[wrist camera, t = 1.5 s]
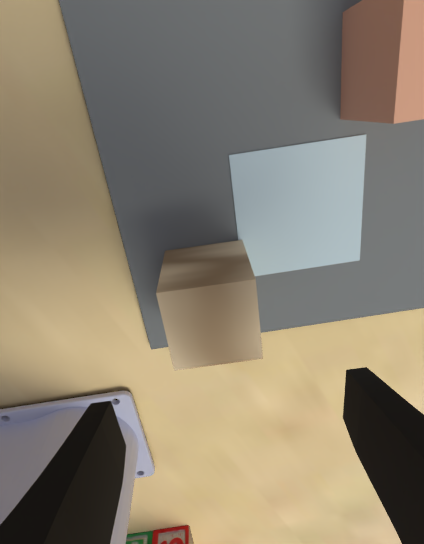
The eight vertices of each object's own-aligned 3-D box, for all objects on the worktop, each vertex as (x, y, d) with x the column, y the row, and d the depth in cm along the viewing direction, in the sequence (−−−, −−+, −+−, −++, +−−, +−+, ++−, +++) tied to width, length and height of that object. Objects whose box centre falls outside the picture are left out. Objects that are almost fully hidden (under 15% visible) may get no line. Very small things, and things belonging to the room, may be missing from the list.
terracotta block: (340, 119, 16) (393, 123, 12) (342, 12, 14) (406, -27, 10) (427, 106, 16) (511, 105, 12) (440, -3, 14) (544, -48, 10)
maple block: (178, 315, 20) (174, 370, 16) (165, 250, 18) (156, 293, 14) (249, 306, 20) (263, 358, 16) (242, 239, 18) (255, 279, 14)
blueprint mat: (151, 344, 21) (151, 350, 20) (60, -5, 14) (55, -10, 13) (430, 301, 21) (437, 306, 20) (490, -70, 14) (502, -77, 13)
